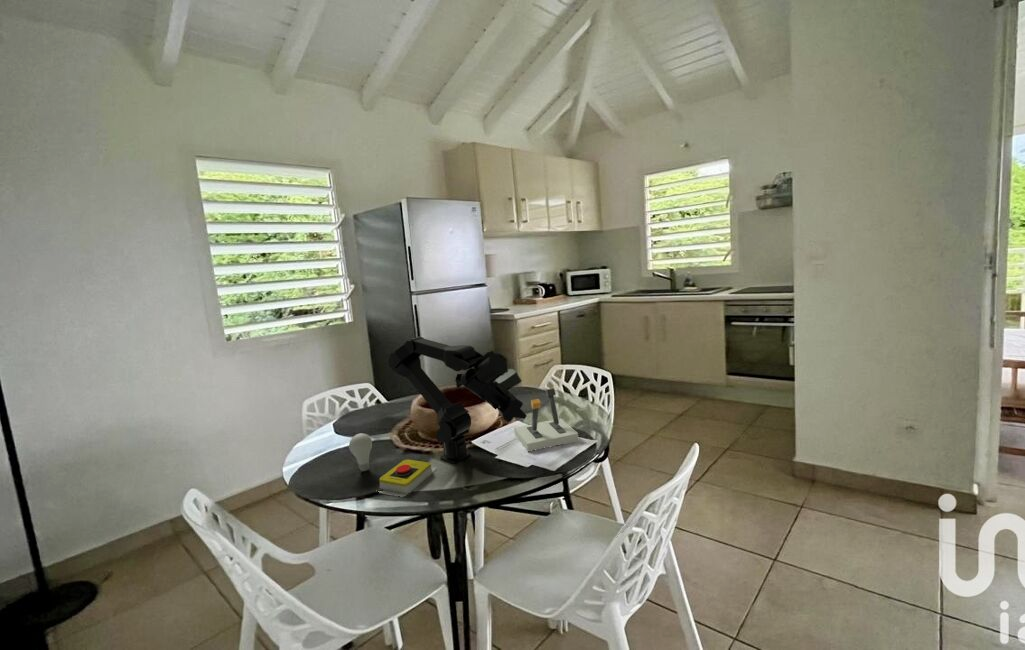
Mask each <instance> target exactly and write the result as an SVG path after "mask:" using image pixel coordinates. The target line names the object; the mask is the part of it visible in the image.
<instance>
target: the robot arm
mask: <svg viewBox="0 0 1025 650" xmlns="http://www.w3.org/2000/svg"><path fill="white" fill-rule="evenodd" d="M421 356H425V357H429V358H431V359H434V360H436V361H440V362H442V363H443V364H444V365H445V367H447V368H449V369H451V370H453V371H454V372H460V371H464V372H461V373H457V375H456V377H455V379H454V380H455V383H456V389H459V388H460V387H462V386H463V387H465V388H466V389H468V390H469V392H471V393H473V394H475V395H476V396H477V397H479V398H480V399H481V400H482V401H483V402H485V403H487V404H489V405H490V406H491V407H492V408H493V409H495V410H498V411H499V413H498V414H499V416H500V417H501V418H502V419H503V420H504V421H506V422H508V423H510V422H511V421H512V420H513V419H514V418H517V419H523V420H525V419H526V418H527V417H528V416H527V415H526V413H525V412H524V411H523V409H521V408H522V407H523V405H524V403H523V401H521V400H520V399H519V398H518V397H517V396H516V395H514V394H513V393H512V392H511V391H510V390H511V389H512V388H513V387H515V386H516V385H519V384H520V383H522V379H521V378H520V375H519V374H518V372H517V371H516V370H515V369H513V368H508V365H507V362H506V360H505V359H504V358H503V357H502V356H501V355H498V354H496V353H495V352H494V350H490V351H487V352H486V353H485V354H482V353H480V352H479V351H477V350H476V349H475V347H473V346H471V345H464V344H461V345H460V344H459V345H448V344H446V343H445V344H444V343H441V342H438V341H434V340H430V339H427V338H424V337H422V336H417V337H413V338H409V339H408V340H407V341H405V343H404V344H403V345H401V346H400V347H399V348H397V349H396V350H395V351H394V352H392V353H390V354H389V357H388V360H387V361H388V362H387V363H388V366H389V367H390V369H391V370H392V371H393V372H394V373H395V374H396V375H398V376H400V377H402V378H405V379H408V381H409V382H410V383H411V385H413V386H414V388H415V389H416V390H417V392H418V393H419V394H420V395H421V397H422V398H423V399H424V400H425V401H426V403H427V404H428V405H429V406H430V408H431V409H432V410H433V411H434V412H435V414H436V417H437V424H438V427H439V428H438V429H437V430H436V432H435V433H434V435H435V438H436V441H437V442H440V443H442V447H443V448H442V449H443V454H442V455H440V457H439V458H440V459H441V460H444V461H446V462H449V463H452V464H457V463H459V462H461V461H462V460H464V459H466V458H467V457H469V456H471V452H469V451H468V449H467V442H466V437H465V436H464V435H466V434H469V432H470V428H471V427H472V426H471V425H472V417H471V415H470V414H469V410H468V409H466V408H465V406H464V405H463V404H462V403H461V402H459V401H458V402H456V403H453V402H451V401H450V400H449V399H448V398H447V396H445V394H444V393H443V392H442V391H441V389H439V387H438V386H437V385H436V384H435V382H433V380H432V379H431V378H430V377H429V376H428V374H427V373H426V372H425V371H424V370H423V368H422V363H421V358H420V357H421Z"/></svg>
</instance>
